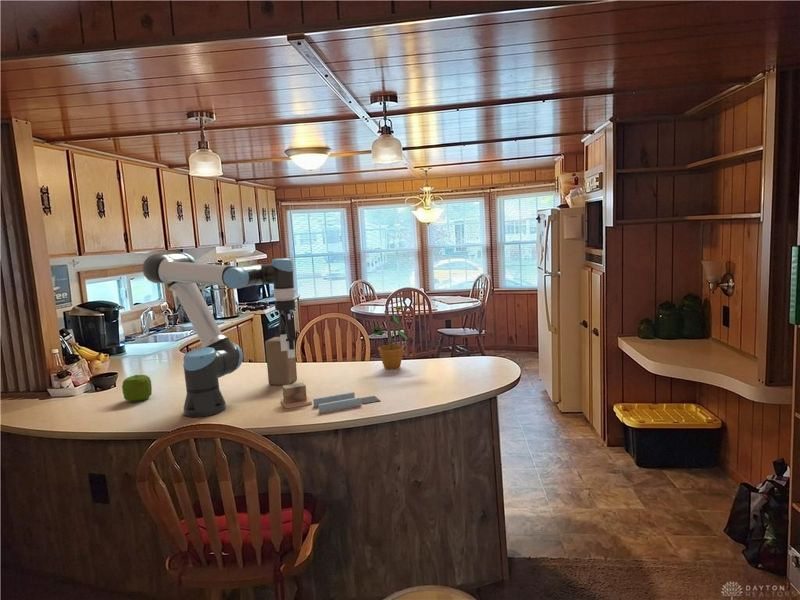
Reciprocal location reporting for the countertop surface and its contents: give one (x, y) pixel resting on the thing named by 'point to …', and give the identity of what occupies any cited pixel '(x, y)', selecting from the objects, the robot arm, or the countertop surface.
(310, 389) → the countertop surface
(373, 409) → the countertop surface
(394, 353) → the potted plant
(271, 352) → the wooden block
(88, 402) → the countertop surface
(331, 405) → the channel
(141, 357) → the countertop surface
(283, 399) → the tile
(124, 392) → the green rounded cube
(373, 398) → the trap mat
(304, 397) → the block
